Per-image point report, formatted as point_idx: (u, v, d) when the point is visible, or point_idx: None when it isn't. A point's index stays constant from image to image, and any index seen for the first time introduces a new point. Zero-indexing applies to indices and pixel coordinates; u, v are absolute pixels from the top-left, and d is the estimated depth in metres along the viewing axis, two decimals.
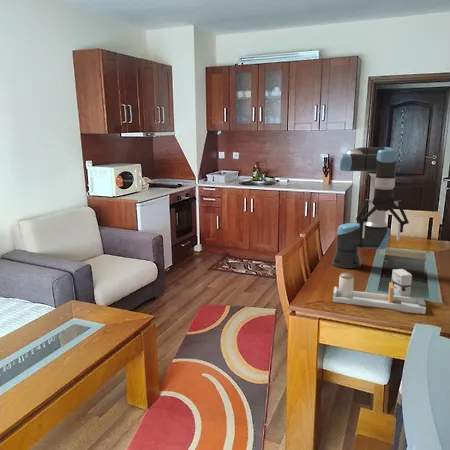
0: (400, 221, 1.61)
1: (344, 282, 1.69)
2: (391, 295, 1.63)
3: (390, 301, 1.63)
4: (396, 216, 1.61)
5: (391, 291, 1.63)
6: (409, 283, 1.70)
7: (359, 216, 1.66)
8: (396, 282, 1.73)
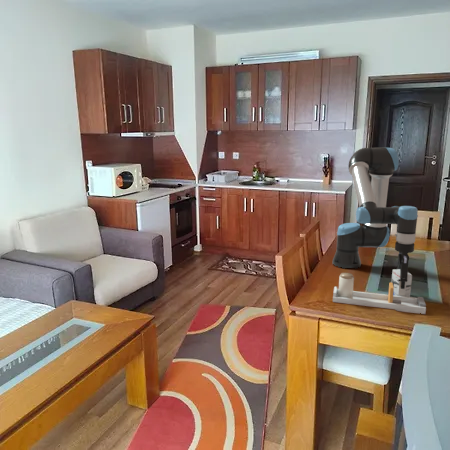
0: (400, 277, 1.69)
1: (344, 282, 1.69)
2: (391, 295, 1.63)
3: (390, 301, 1.63)
4: (400, 271, 1.70)
5: (391, 291, 1.63)
6: (409, 283, 1.70)
7: None
8: (396, 282, 1.73)
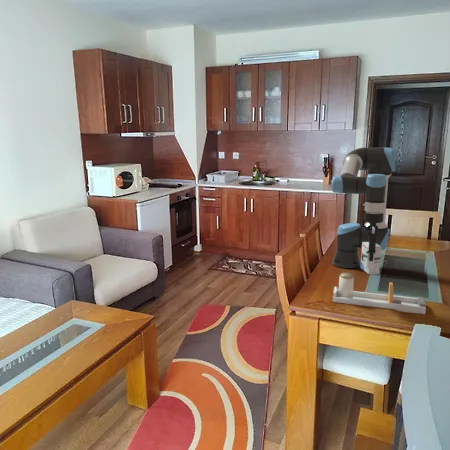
0: None
1: (344, 282, 1.69)
2: (391, 295, 1.63)
3: (390, 301, 1.63)
4: None
5: (391, 291, 1.63)
6: (378, 255, 1.61)
7: None
8: (366, 254, 1.64)
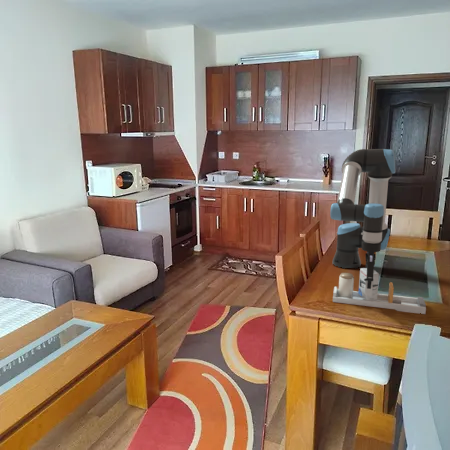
0: None
1: (344, 282, 1.69)
2: (391, 295, 1.63)
3: (390, 301, 1.63)
4: None
5: (391, 291, 1.63)
6: (376, 282, 1.64)
7: None
8: (363, 281, 1.67)
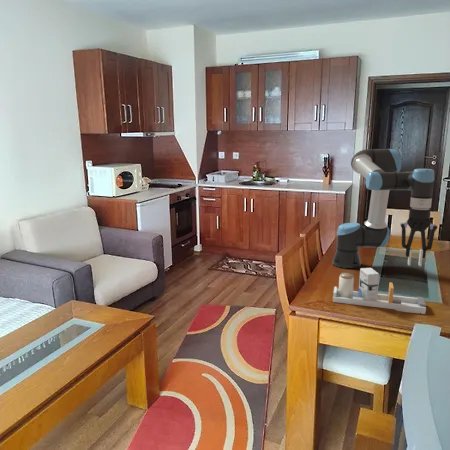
0: (424, 246, 1.57)
1: (344, 282, 1.69)
2: (391, 295, 1.63)
3: (390, 301, 1.63)
4: (424, 240, 1.57)
5: (391, 291, 1.63)
6: (376, 282, 1.64)
7: (403, 242, 1.59)
8: (363, 281, 1.67)
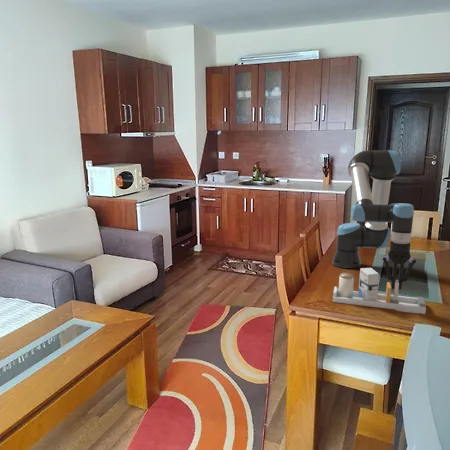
0: (401, 278, 1.63)
1: (344, 282, 1.69)
2: (389, 295, 1.63)
3: (388, 301, 1.64)
4: (401, 272, 1.62)
5: (389, 291, 1.63)
6: (376, 282, 1.64)
7: (388, 275, 1.64)
8: (363, 281, 1.67)
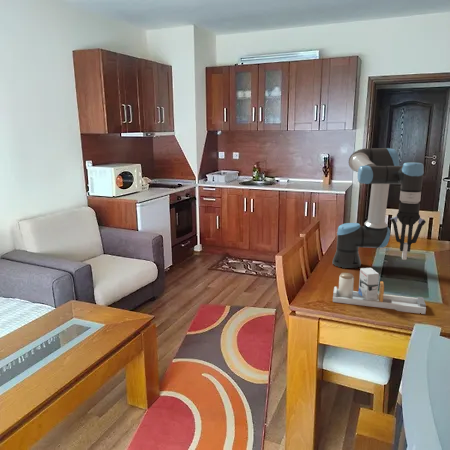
0: (409, 240, 1.59)
1: (344, 282, 1.69)
2: (381, 294, 1.64)
3: (380, 300, 1.65)
4: (410, 234, 1.58)
5: (381, 290, 1.64)
6: (376, 282, 1.64)
7: (397, 237, 1.60)
8: (363, 281, 1.67)
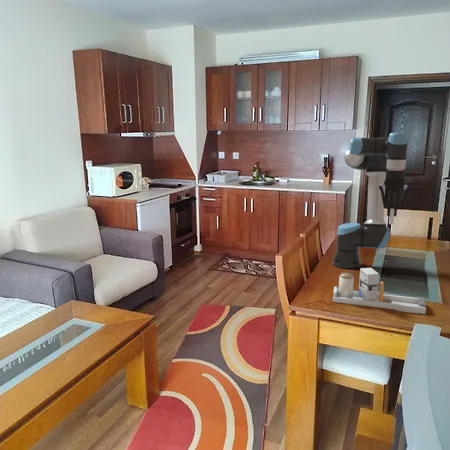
0: (396, 205, 1.71)
1: (344, 282, 1.69)
2: (381, 294, 1.64)
3: (380, 300, 1.65)
4: (396, 199, 1.70)
5: (381, 290, 1.64)
6: (376, 282, 1.64)
7: (384, 202, 1.72)
8: (363, 281, 1.67)
